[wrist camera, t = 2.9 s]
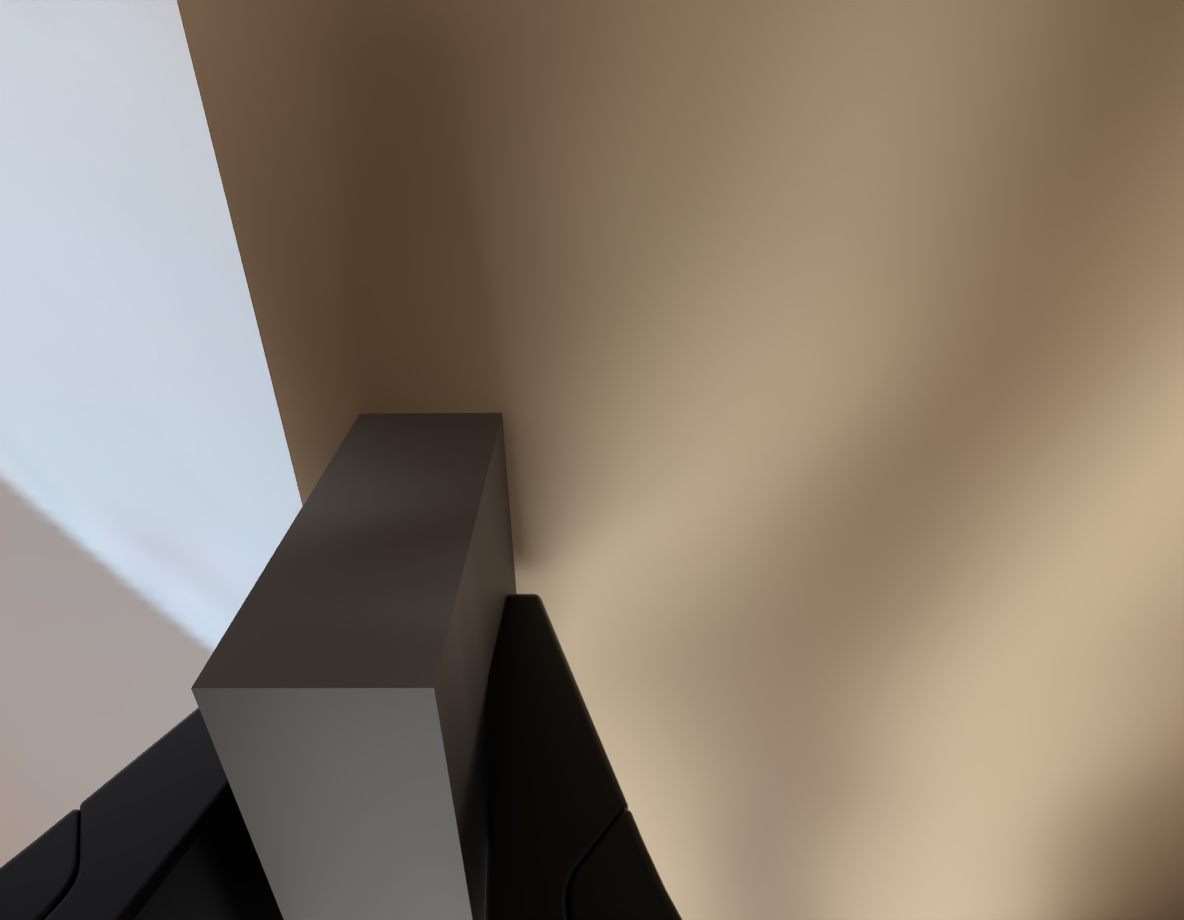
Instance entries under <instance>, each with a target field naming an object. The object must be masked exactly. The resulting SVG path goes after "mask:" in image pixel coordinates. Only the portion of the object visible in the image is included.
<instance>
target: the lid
mask: <svg viewBox="0 0 1184 920" xmlns="http://www.w3.org/2000/svg"><path fill="white" fill-rule="evenodd" d="M177 3H178V7H179V11H180V15H181V19H182V23H183V27H184V31H185V35H186V39H187V43H188V47H189V51H190V55H191V59H192V63H193V67H194V71H195V75H196V79H197V83H198V87H199V91H200V95H201V99H202V103H203V107H204V111H205V115H206V119H207V123H208V127H209V131H210V135H211V139H212V143H213V147H214V151H215V155H216V160H217V164H218V168H219V172H220V176H221V180H222V184H223V188H224V192H225V196H226V200H227V204H228V208H229V212H230V216H231V220H232V224H233V228H234V232H235V236H236V240H237V244H238V248H239V252H240V256H241V260H242V264H243V268H244V272H245V276H246V280H247V284H248V288H249V292H250V296H251V300H252V304H253V308H254V312H255V316H256V320H257V324H258V328H259V332H260V336H261V340H262V344H263V348H264V352H265V356H266V360H267V364H268V368H269V372H270V376H271V380H272V384H273V389H274V393H275V397H276V401H277V405H278V409H279V413H280V417H281V421H282V425H283V429H284V433H285V437H286V441H287V445H288V449H289V453H290V457H291V461H292V465H293V469H294V473H295V477H296V481H297V485H298V489H299V493H300V497H301V501H302V505H303V507H302V509H301V510H300V512H299V513H298V515H297V517H296V518H295V520H294V522H293V523H292V525H291V526H290V528H289V530H288V531H287V533H286V535H285V536H284V538H283V540H282V541H281V543H280V544H279V546H278V548H277V549H276V551H275V553H274V554H273V556H272V557H271V559H270V561H269V562H268V564H267V566H266V567H265V569H264V571H263V572H262V574H261V575H260V577H259V579H258V580H257V582H256V584H255V585H254V587H253V588H252V590H251V592H250V593H249V595H248V597H247V598H246V600H245V602H244V603H243V605H242V606H241V608H240V610H239V611H238V613H237V615H236V616H235V618H234V619H233V621H232V623H231V624H230V626H229V628H228V629H227V631H226V633H225V634H224V636H223V637H222V639H221V641H220V642H219V644H218V646H217V647H216V649H215V650H214V652H213V654H212V655H211V657H210V659H209V660H208V662H207V664H206V665H205V667H204V669H203V670H202V672H201V673H200V675H199V677H198V678H197V680H196V682H195V683H194V685H193V686H192V688H191V689H192V691H193V694H194V696H195V699H196V701H197V704H198V706H199V709H200V711H201V714H202V716H203V719H204V722H205V724H206V727H207V729H208V732H209V734H210V737H211V739H212V742H213V744H214V747H215V749H216V752H217V754H218V757H219V759H220V762H221V764H222V767H223V769H224V772H225V774H226V777H227V779H228V782H229V784H230V787H231V789H232V792H233V794H234V797H235V799H236V802H237V804H238V807H239V809H240V812H241V814H242V817H243V819H244V822H245V824H246V827H247V829H248V832H249V834H250V837H251V839H252V842H253V844H254V847H255V849H256V852H257V854H258V857H259V859H260V862H261V864H262V867H263V869H264V872H265V874H266V877H267V879H268V882H269V884H270V887H271V889H272V892H273V894H274V897H275V899H276V902H277V904H278V907H279V909H280V912H281V914H282V917H283V919H284V920H485V874H486V795H487V717H488V677H489V672H490V666H491V661H492V657H493V652H494V648H495V643H496V639H497V635H498V630H499V626H500V622H501V617H502V613H503V609H504V604H505V600H506V597H507V596H508V595H509V594H537V595H539V596H540V598H541V599H542V602H543V604H544V606H545V609H546V611H547V614H548V616H549V618H550V621H551V623H552V625H553V628H554V630H555V633H556V635H557V637H558V640H559V642H560V645H561V647H562V649H563V652H564V654H565V656H566V659H567V661H568V664H569V666H570V668H571V671H572V673H573V675H574V678H575V680H576V683H577V685H578V687H579V690H580V692H581V695H582V697H583V699H584V702H585V704H586V706H587V709H588V711H589V714H590V716H591V718H592V721H593V723H594V726H595V728H596V730H597V733H598V735H599V737H600V740H601V742H602V745H603V747H604V749H605V752H606V754H607V756H608V759H609V761H610V764H611V766H612V768H613V771H614V773H615V776H616V778H617V780H618V783H619V785H620V787H621V790H622V792H623V795H624V797H625V799H626V802H627V804H628V810H629V811H630V812H631V813H632V815H633V817H634V820H635V822H636V824H637V827H638V829H639V832H640V834H641V836H642V839H643V841H644V843H645V845H646V848H647V850H648V852H649V854H650V856H651V858H652V861H653V863H654V865H655V867H656V869H657V871H658V874H659V876H660V878H661V880H662V882H663V884H664V886H665V889H666V890H667V892H668V894H669V896H670V898H671V900H672V901H673V903H674V905H675V907H676V909H677V911H678V913H679V914H680V916H681V918H682V920H1184V0H177Z"/></svg>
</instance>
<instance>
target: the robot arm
mask: <svg viewBox="0 0 1184 920" xmlns="http://www.w3.org/2000/svg"><path fill="white" fill-rule="evenodd" d="M0 920H284V919H283V917H282V914H281V912H280V909H279V907H278V904H277V902H276V899H275V897H274V894H273V892H272V889H271V887H270V884H269V882H268V879H267V877H266V874H265V872H264V869H263V867H262V864H261V862H260V859H259V857H258V854H257V852H256V849H255V847H254V844H253V842H252V839H251V837H250V834H249V832H248V829H247V827H246V824H245V822H244V819H243V817H242V814H241V812H240V809H239V807H238V804H237V802H236V799H235V797H234V794H233V792H232V789H231V787H230V784H229V782H228V779H227V777H226V774H225V772H224V769H223V767H222V764H221V762H220V759H219V757H218V754H217V752H216V749H215V747H214V744H213V742H212V739H211V737H210V734H209V732H208V729H207V727H206V724H205V722H204V719H203V716H202V714H201V711H200V709H199V707H198V708H197V709H196V710H195V711H193V712H192V713H191V714H190V715H189V716H188V717H186V718H185V719H184V720H183V721H181V722H180V723H179V724H178V725H176V726H175V727H174V728H173V729H171V730H170V731H169V732H168V733H167V734H165V735H164V736H163V737H162V738H160V739H159V740H158V741H157V742H156V743H154V744H153V745H152V746H151V747H149V748H148V749H147V750H146V751H145V752H143V753H142V754H141V755H140V756H138V757H137V758H136V759H135V760H134V761H132V762H131V763H130V764H129V765H128V766H127V767H125V768H124V769H123V770H121V771H120V772H119V773H118V774H116V775H115V776H114V777H113V778H112V779H111V780H109V781H108V782H107V783H105V784H104V785H103V786H102V787H101V788H99V789H98V790H97V791H96V792H94V793H93V794H92V795H91V796H90V797H88V798H87V799H86V800H85V801H84V802H82V804H81V806H80V810H78V809H75V810H72V811H71V812H70V813H68V814H67V815H66V816H65V817H64V818H62V819H61V820H60V821H59V822H57V823H56V824H55V825H54V826H52V827H51V828H50V829H49V830H48V831H46V832H45V833H44V834H43V835H41V836H40V837H39V838H38V839H37V840H35V841H34V842H33V843H31V844H30V845H29V846H28V847H26V848H25V849H24V850H23V851H21V852H20V853H19V854H18V855H16V856H15V857H14V858H12V859H11V860H10V861H9V862H7V863H6V864H5V865H4V866H2V867H1V868H0ZM485 920H682V918H681V916H680V914H679V913H678V911H677V909H676V907H675V905H674V903H673V901H672V900H671V898H670V896H669V894H668V892H667V890H666V889H665V886H664V884H663V882H662V880H661V878H660V876H659V874H658V871H657V869H656V867H655V865H654V863H653V861H652V858H651V856H650V854H649V852H648V850H647V848H646V845H645V843H644V841H643V839H642V836H641V834H640V832H639V829H638V827H637V824H636V822H635V820H634V817H633V815H632V813H631V812H630V811H629V810H628V804H627V802H626V799H625V797H624V795H623V792H622V790H621V787H620V785H619V783H618V780H617V778H616V776H615V773H614V771H613V768H612V766H611V764H610V761H609V759H608V756H607V754H606V752H605V749H604V747H603V745H602V742H601V740H600V737H599V735H598V733H597V730H596V728H595V726H594V723H593V721H592V718H591V716H590V714H589V711H588V709H587V706H586V704H585V702H584V699H583V697H582V695H581V692H580V690H579V687H578V685H577V683H576V680H575V678H574V675H573V673H572V671H571V668H570V666H569V664H568V661H567V659H566V656H565V654H564V652H563V649H562V647H561V645H560V642H559V640H558V637H557V635H556V633H555V630H554V628H553V625H552V623H551V621H550V618H549V616H548V614H547V611H546V609H545V606H544V604H543V602H542V599H541V598H540V596H539V595H537V594H509V595H508V596H507V597H506V600H505V604H504V609H503V613H502V617H501V622H500V626H499V630H498V635H497V639H496V643H495V648H494V652H493V657H492V661H491V666H490V672H489V677H488V717H487V795H486V874H485Z"/></svg>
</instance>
